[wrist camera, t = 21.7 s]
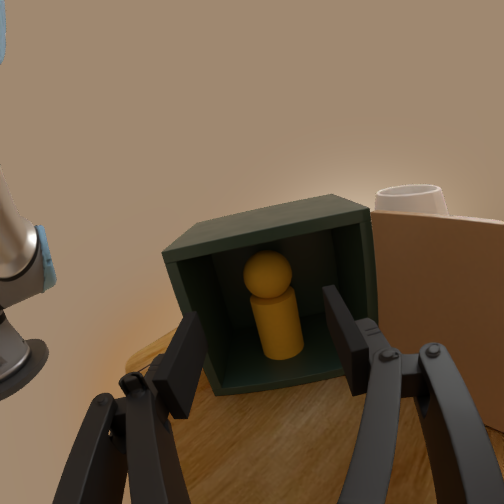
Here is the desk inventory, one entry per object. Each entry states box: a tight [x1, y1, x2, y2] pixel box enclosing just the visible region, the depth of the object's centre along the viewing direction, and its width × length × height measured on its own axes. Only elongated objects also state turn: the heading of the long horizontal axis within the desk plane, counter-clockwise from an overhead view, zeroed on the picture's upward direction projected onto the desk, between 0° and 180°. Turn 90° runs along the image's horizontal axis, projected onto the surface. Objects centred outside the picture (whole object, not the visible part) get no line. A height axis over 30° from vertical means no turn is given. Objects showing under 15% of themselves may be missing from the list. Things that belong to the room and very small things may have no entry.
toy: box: [243, 250, 304, 360], centre depth 28 cm, size 5×5×11 cm
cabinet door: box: [370, 210, 504, 433], centre depth 15 cm, size 6×16×15 cm, turn 28°
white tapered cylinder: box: [372, 184, 449, 274], centre depth 32 cm, size 13×13×14 cm
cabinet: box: [162, 194, 379, 396], centre depth 28 cm, size 12×16×15 cm
